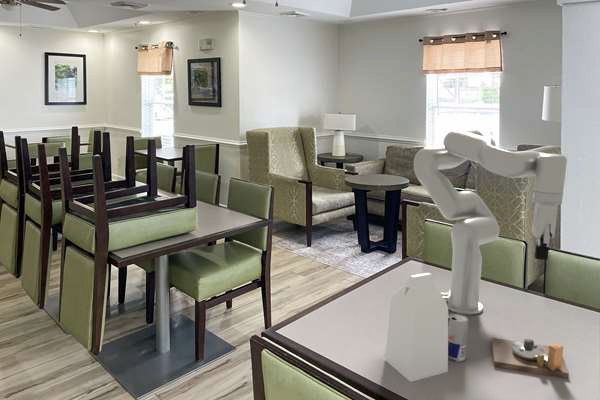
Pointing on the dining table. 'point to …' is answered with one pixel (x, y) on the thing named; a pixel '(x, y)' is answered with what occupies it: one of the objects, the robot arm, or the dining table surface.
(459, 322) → the energy drink
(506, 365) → the walnut board
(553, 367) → the crank handle
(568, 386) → the dining table surface
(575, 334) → the dining table surface
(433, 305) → the milk
